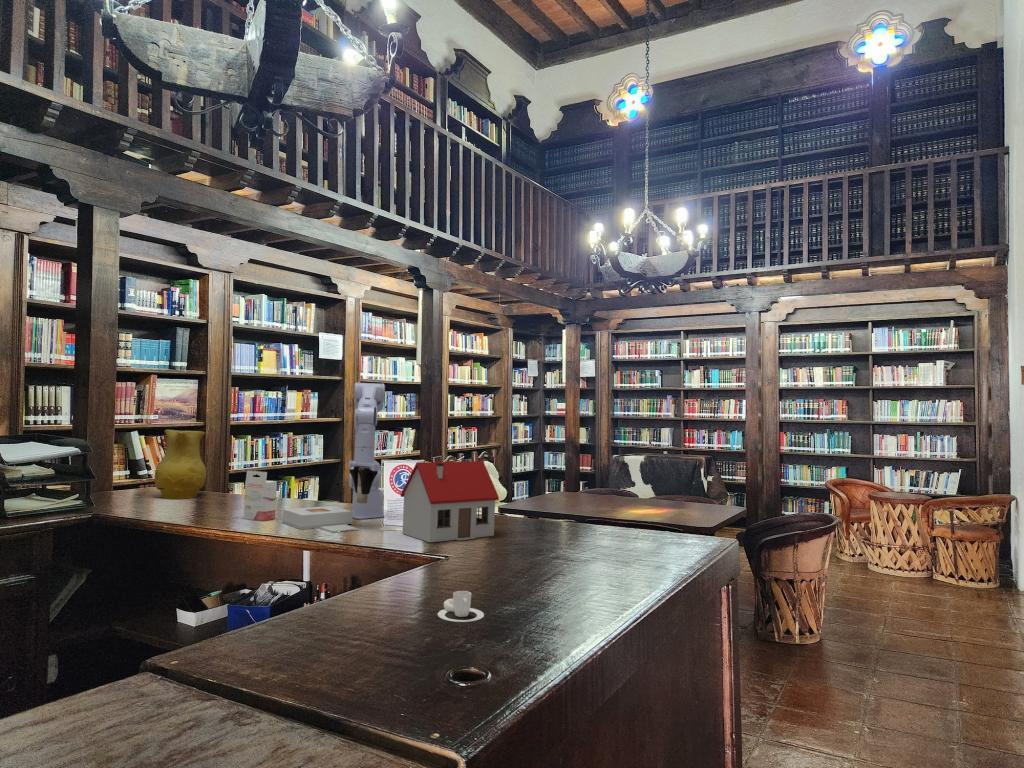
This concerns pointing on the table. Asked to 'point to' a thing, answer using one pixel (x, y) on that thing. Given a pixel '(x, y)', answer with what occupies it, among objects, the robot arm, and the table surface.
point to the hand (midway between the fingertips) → (362, 493)
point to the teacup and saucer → (460, 607)
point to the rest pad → (338, 528)
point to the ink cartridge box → (259, 497)
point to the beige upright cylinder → (360, 497)
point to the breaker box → (316, 517)
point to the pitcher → (181, 466)
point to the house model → (449, 501)
